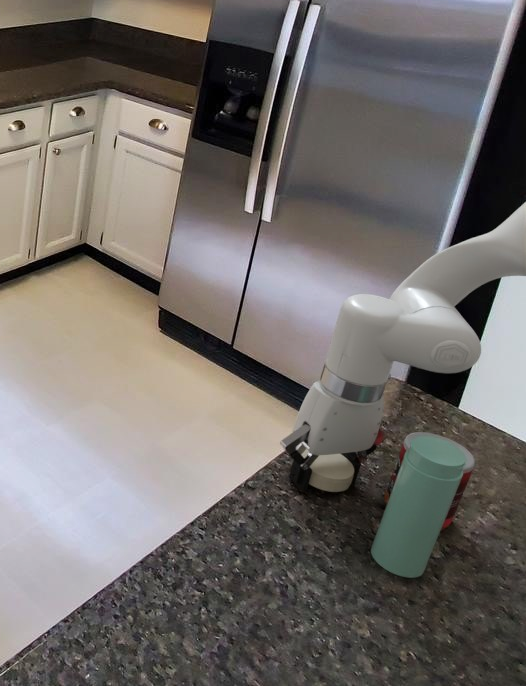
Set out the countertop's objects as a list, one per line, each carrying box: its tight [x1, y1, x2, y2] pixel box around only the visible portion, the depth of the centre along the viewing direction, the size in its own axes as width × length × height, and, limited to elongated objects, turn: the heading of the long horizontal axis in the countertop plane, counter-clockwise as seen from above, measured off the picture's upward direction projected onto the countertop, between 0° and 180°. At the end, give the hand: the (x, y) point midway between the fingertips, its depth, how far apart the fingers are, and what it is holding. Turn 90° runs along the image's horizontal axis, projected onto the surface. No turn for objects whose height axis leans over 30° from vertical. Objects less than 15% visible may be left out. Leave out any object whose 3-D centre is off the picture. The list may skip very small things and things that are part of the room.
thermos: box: [370, 436, 466, 579], centre depth 100 cm, size 6×6×18 cm
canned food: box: [384, 431, 476, 531], centre depth 109 cm, size 8×8×11 cm
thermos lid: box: [302, 449, 354, 493], centre depth 116 cm, size 7×7×2 cm
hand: (321, 480), depth 117 cm, fingers closed on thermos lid, 7 cm apart
